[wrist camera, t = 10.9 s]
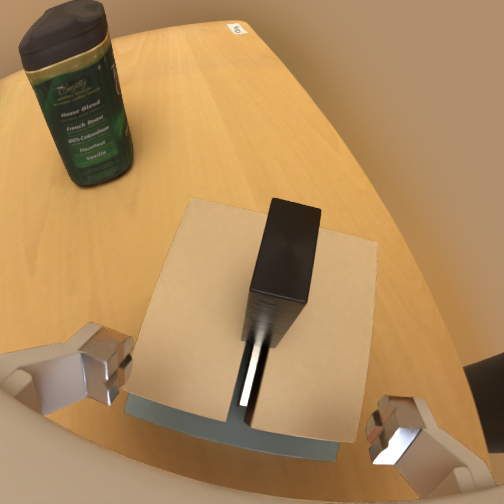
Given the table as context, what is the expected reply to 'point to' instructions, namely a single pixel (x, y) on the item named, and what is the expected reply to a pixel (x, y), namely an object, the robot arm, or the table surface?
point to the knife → (278, 280)
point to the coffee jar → (79, 90)
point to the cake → (237, 352)
